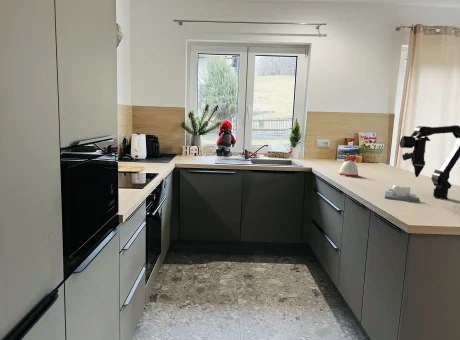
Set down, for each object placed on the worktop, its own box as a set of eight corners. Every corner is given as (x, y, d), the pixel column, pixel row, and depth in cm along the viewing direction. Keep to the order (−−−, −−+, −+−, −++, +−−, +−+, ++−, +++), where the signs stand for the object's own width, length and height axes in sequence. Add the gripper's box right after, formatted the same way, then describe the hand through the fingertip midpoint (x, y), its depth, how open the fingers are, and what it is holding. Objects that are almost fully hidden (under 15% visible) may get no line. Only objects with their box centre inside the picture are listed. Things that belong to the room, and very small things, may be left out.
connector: (409, 195, 205) (410, 187, 204) (409, 197, 201) (410, 188, 200) (388, 193, 209) (389, 184, 208) (388, 194, 206) (389, 185, 205)
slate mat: (415, 196, 209) (415, 194, 209) (417, 202, 195) (417, 199, 194) (385, 193, 215) (385, 191, 215) (384, 198, 201) (385, 196, 201)
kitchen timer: (359, 177, 274) (361, 157, 272) (340, 176, 276) (342, 156, 274) (356, 174, 288) (357, 155, 285) (338, 173, 290) (339, 154, 288)
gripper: (403, 146, 217) (400, 172, 219) (404, 148, 200) (400, 176, 202) (424, 148, 213) (421, 174, 215) (426, 150, 196) (423, 178, 198)
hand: (416, 175), depth 208 cm, fingers open, 9 cm apart
